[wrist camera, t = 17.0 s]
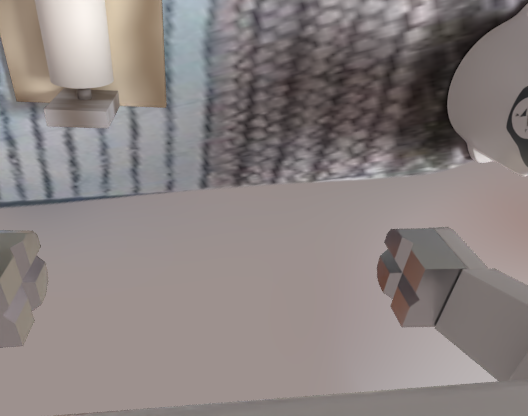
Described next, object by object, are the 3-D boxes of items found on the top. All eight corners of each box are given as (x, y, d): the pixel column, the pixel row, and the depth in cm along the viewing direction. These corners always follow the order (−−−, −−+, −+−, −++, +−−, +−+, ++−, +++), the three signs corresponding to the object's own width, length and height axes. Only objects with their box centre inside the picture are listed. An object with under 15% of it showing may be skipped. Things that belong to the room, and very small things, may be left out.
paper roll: (63, -59, 33) (5, -64, 29) (113, -53, 31) (59, -57, 27) (83, 72, 39) (37, 83, 35) (126, 82, 37) (83, 96, 33)
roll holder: (158, -86, 33) (149, -93, 27) (166, 104, 41) (161, 130, 36) (-30, -108, 31) (-83, -121, 25) (20, 98, 39) (-11, 124, 33)
